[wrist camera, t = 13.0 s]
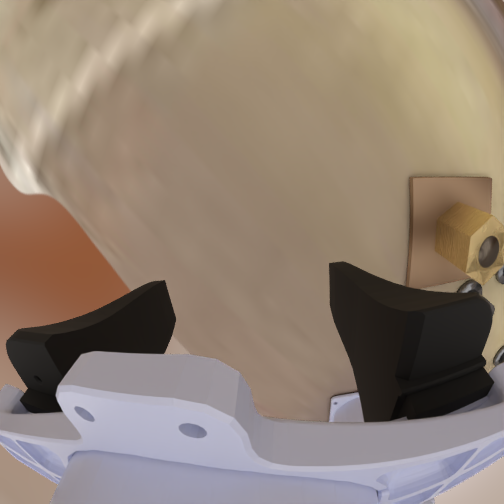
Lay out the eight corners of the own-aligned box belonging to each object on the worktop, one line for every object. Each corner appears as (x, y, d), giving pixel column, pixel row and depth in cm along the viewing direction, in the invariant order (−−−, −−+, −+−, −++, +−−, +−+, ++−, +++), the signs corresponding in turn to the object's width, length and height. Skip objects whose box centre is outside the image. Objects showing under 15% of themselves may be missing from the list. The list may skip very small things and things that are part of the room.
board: (479, 272, 22) (482, 274, 21) (405, 287, 23) (408, 290, 22) (488, 177, 19) (491, 178, 18) (409, 177, 19) (413, 178, 19)
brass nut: (470, 259, 21) (500, 281, 16) (432, 265, 21) (462, 291, 17) (475, 200, 19) (511, 214, 14) (437, 202, 19) (472, 217, 15)
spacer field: (499, 371, 27) (510, 386, 24) (420, 405, 29) (429, 425, 25) (540, 242, 20) (560, 253, 16) (461, 259, 22) (484, 275, 18)
